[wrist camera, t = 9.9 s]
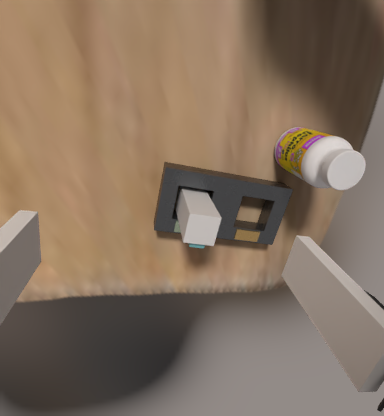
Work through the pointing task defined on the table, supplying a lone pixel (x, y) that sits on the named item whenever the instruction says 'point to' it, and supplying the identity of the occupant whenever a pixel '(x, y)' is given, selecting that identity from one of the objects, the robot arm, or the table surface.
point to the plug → (197, 217)
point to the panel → (224, 201)
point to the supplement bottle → (319, 158)
